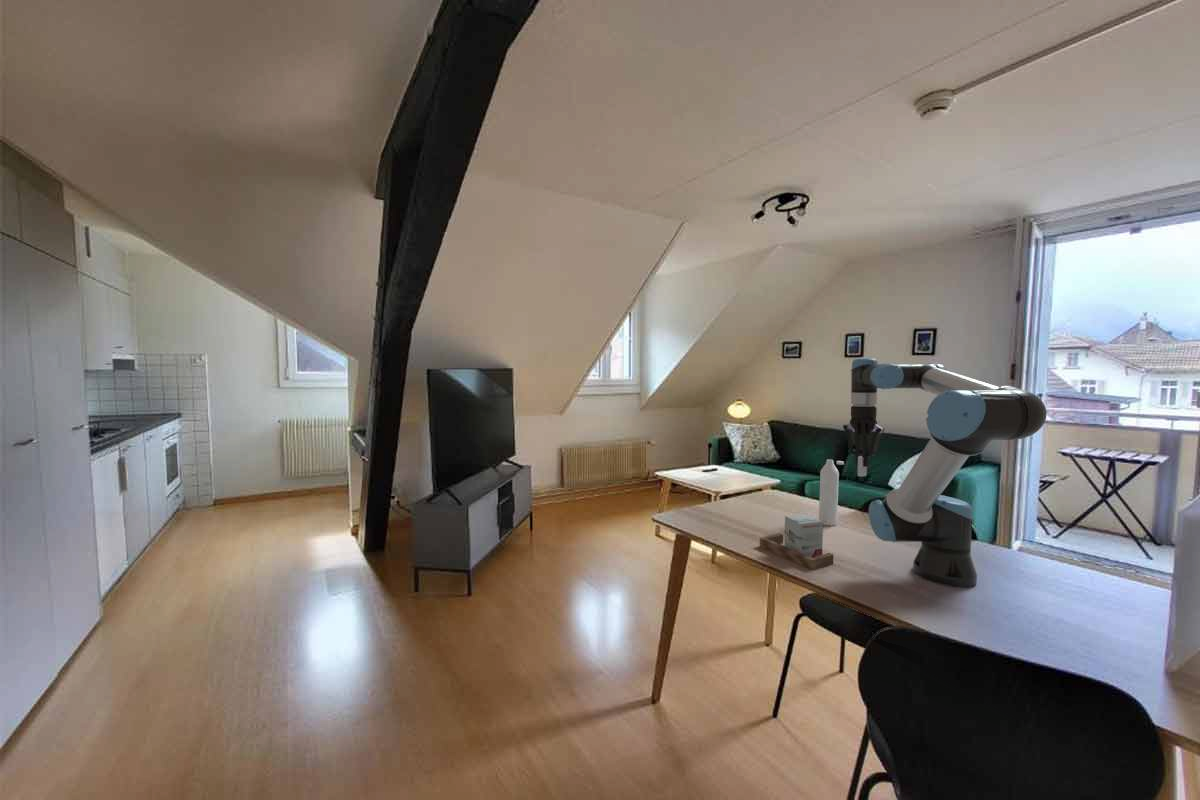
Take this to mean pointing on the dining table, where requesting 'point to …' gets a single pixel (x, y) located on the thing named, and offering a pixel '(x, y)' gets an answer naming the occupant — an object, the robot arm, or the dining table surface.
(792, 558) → the fence
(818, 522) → the ink box
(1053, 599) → the dining table surface
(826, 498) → the water bottle
